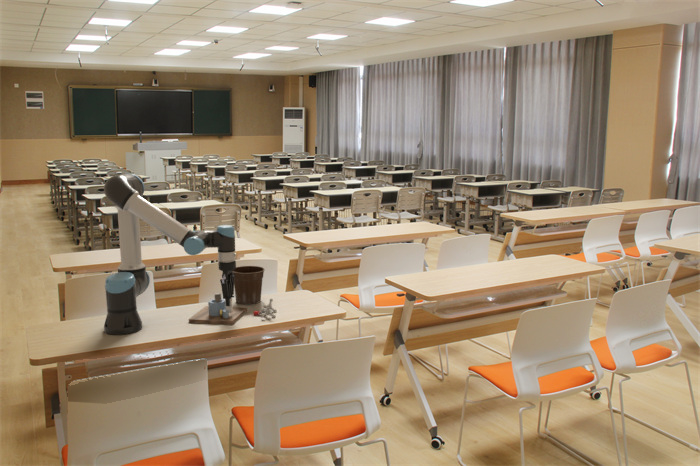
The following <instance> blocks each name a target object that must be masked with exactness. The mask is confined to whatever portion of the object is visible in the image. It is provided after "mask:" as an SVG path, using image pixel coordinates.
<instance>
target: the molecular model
mask: <svg viewBox="0 0 700 466" xmlns="http://www.w3.org/2000/svg"><path fill="white" fill-rule="evenodd" d="M273 300H274V299H273V298H269V303H268V304H264V305H263V308H261V309H260V310H254V311H253V316H254V317H255V316H258V315H260V314H261V315H260V316H261V317H262V318H263V317H265V315H269V316H271V318H273V319H274V318H276V314H273V313H277V309H274V308H273V305H272V304H273V303H272V302H273ZM271 311H272V312H273V313H271Z"/></svg>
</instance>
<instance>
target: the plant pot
mask: <svg viewBox="0 0 700 466" xmlns="http://www.w3.org/2000/svg"><path fill="white" fill-rule="evenodd" d="M265 270H266V269H265V268H264V267H263V266H258V265H240V266H236V269H235V270H233V273H235V277H234V294H235V295H234V297H235V301H236V303H238V304H241V305H253V304H254V303H255V304H257V303H260V302H261V301H262V291H263V290H262V288H263V279H264V273H265Z"/></svg>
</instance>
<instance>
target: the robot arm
mask: <svg viewBox="0 0 700 466" xmlns="http://www.w3.org/2000/svg"><path fill="white" fill-rule="evenodd" d="M103 192H104V195H105V197H106V199H107V200H108V201H109V202H110V203H112V205H113V207H114V208H115V209H116V210H117V221H118V237H119V252H120V264H118V266H117V272H115V273H112V274H110V275H108V276H107V277H106V278H105V284H104V288H105V300H106V309H107V310H106V311H107V314H106V317H105V321H104V325H103V331H104V333H105V334H107V335H114V336H115V335H116V336H117V335H118V336H120V335H128V334H133V333H136V332H138V331H141V329H143V321H142V319H141V317H140V315H139V312H138V308H137V306H138V305H137V298H138V297H139V296H141V295H142V294H143V293H144V292H145V291H146V290H147V289H148V287H149V286H150V283H151V279H150V278H151V277H150V275H149V273H148V272H147V268H146V266H147V265H146V264H145V263H144V262H143V259H142V245H141V244H142V243H141V226H140V220H142V221H143V222H145V223H147V224H148V225H149V226H150V227H153V228H154V229H155V230H157V231H158V232H160V233H162V234H163V235H164V236H166V237H167V238H168V239H170V240H172V241H174V242H175V243H176V244H178V245H180V246H181V247H182V248H183V249H184V251H185V252H186V254H188V255H189V256H196V255H199V254H201V253H202V252H203V251H204V250H206V249H207V248H208V249H209V248H211V249H212V248H217V260H218V270H219V271H222V274H221V278H220V281H219V282H220V286H221V291H222V292H221V294H222V299H224V300H225V307H226V310H227V311H229V313H232V312H233V308H232V307H233V298H235V295H234V294H235V287H234V277H235V273H233V270H235V269H236V267H237V262H236V257H237V255H238V254H237V253H236V235H235V234H236V233H235V227H234V226H233V225H231V224H230V225H229V224H223V225H222V224H221V225H218V226H217V227H216V230H203V229H201V230H200V229H197V230H191V229H190V228H189V227H187V226H186V225H184V224H182V223H181V222H180V221H178V220H177V219H175V218H174V217H172V216H170V214H169V213H168V214H167V213H166V212H164V211H163V210H162V209H160V208H158V207H157V206H155V205H154V204H152V203H151V202H149V201H148V200H147V199H145V198H144V197H142V196H143V195H144V192H145V183H144V182H143V180H142V178H141V177H139V176H138V175H137V174H134V173H128V172H127V173H121V174H117V175H113V176H111V177H109V178H108V179H107V180H106V182H105V183H104V186H103Z"/></svg>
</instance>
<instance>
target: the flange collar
mask: <svg viewBox="0 0 700 466" xmlns="http://www.w3.org/2000/svg"><path fill="white" fill-rule="evenodd" d="M221 300H222V302H215V298H213V299H210V300H208V302H207V303H208V304H207V306H209V315H211V316H220V309H222V316H223V318H229V311H227V310H226V307H225V299H223V298H221Z"/></svg>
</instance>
